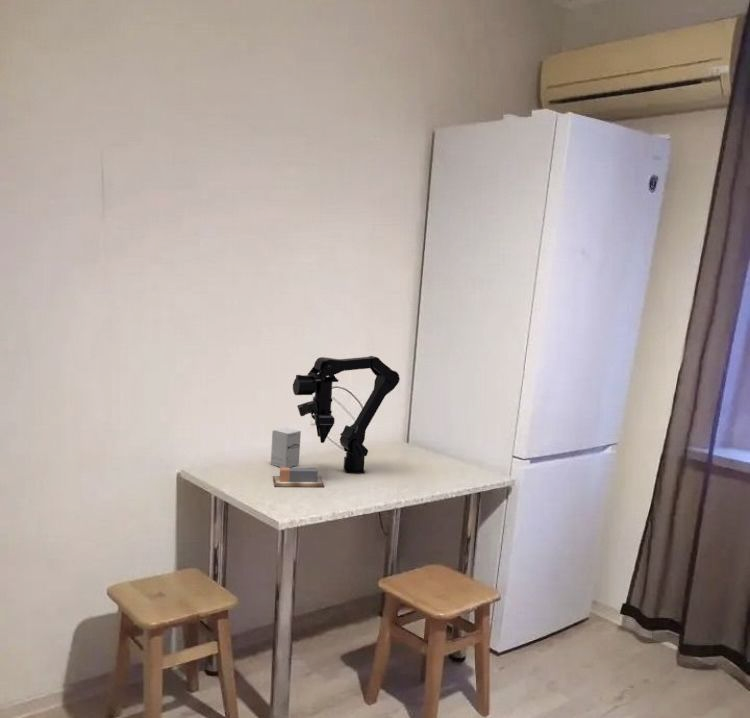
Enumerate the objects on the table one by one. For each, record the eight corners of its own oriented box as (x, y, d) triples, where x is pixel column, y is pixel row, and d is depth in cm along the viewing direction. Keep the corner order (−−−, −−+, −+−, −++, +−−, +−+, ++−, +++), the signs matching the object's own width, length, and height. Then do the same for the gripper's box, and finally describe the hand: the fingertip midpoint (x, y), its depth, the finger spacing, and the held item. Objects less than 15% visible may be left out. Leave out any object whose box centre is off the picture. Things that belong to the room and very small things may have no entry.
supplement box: (285, 468, 249) (286, 433, 248) (270, 464, 254) (271, 429, 252) (299, 465, 255) (301, 430, 254) (284, 461, 259) (286, 427, 258)
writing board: (320, 477, 241) (320, 475, 241) (324, 487, 230) (324, 485, 230) (272, 477, 238) (272, 475, 238) (274, 487, 227) (274, 484, 227)
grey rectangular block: (315, 478, 237) (316, 467, 236) (317, 482, 233) (317, 470, 233) (279, 478, 235) (280, 467, 234) (280, 481, 231) (280, 470, 230)
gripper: (297, 389, 250) (295, 433, 252) (302, 398, 232) (299, 445, 234) (328, 390, 252) (326, 433, 254) (335, 399, 234) (333, 446, 236)
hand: (320, 439), depth 244 cm, fingers open, 9 cm apart
